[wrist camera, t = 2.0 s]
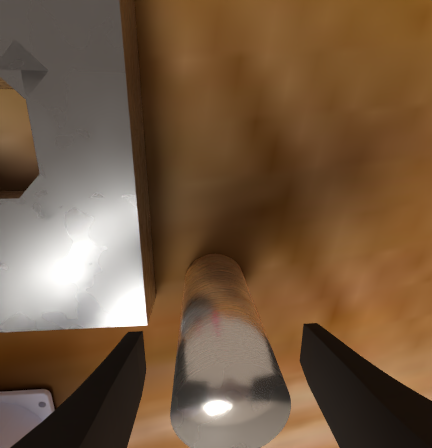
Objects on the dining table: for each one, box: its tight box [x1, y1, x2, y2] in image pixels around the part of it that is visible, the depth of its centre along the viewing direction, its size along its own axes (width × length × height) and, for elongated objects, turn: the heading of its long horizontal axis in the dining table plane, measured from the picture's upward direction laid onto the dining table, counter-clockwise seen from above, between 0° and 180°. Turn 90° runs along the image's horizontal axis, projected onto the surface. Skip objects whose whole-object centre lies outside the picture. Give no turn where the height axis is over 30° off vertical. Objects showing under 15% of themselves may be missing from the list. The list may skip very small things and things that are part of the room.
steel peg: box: [170, 254, 291, 448], centre depth 12 cm, size 4×4×9 cm
